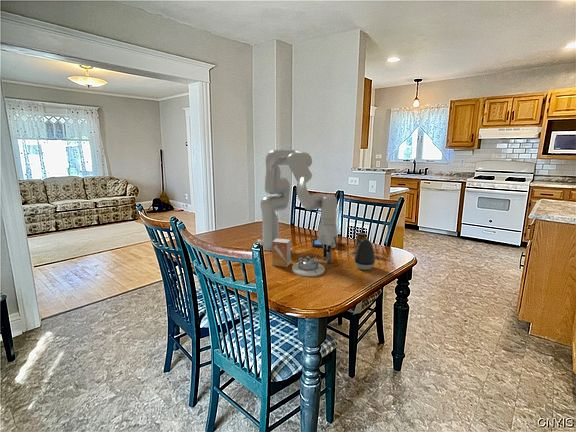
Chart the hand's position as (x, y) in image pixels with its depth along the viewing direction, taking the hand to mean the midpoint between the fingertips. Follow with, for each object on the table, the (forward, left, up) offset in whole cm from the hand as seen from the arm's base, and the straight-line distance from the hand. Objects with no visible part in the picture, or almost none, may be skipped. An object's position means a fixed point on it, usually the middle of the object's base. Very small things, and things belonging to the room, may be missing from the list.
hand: (326, 256), depth 159 cm
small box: (-23, -5, -6) cm, 24 cm away
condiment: (+12, +29, -6) cm, 32 cm away
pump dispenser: (+18, +7, -6) cm, 20 cm away
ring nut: (-5, -6, -4) cm, 8 cm away
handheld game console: (-13, +39, -6) cm, 42 cm away
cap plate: (-7, -7, -6) cm, 12 cm away
